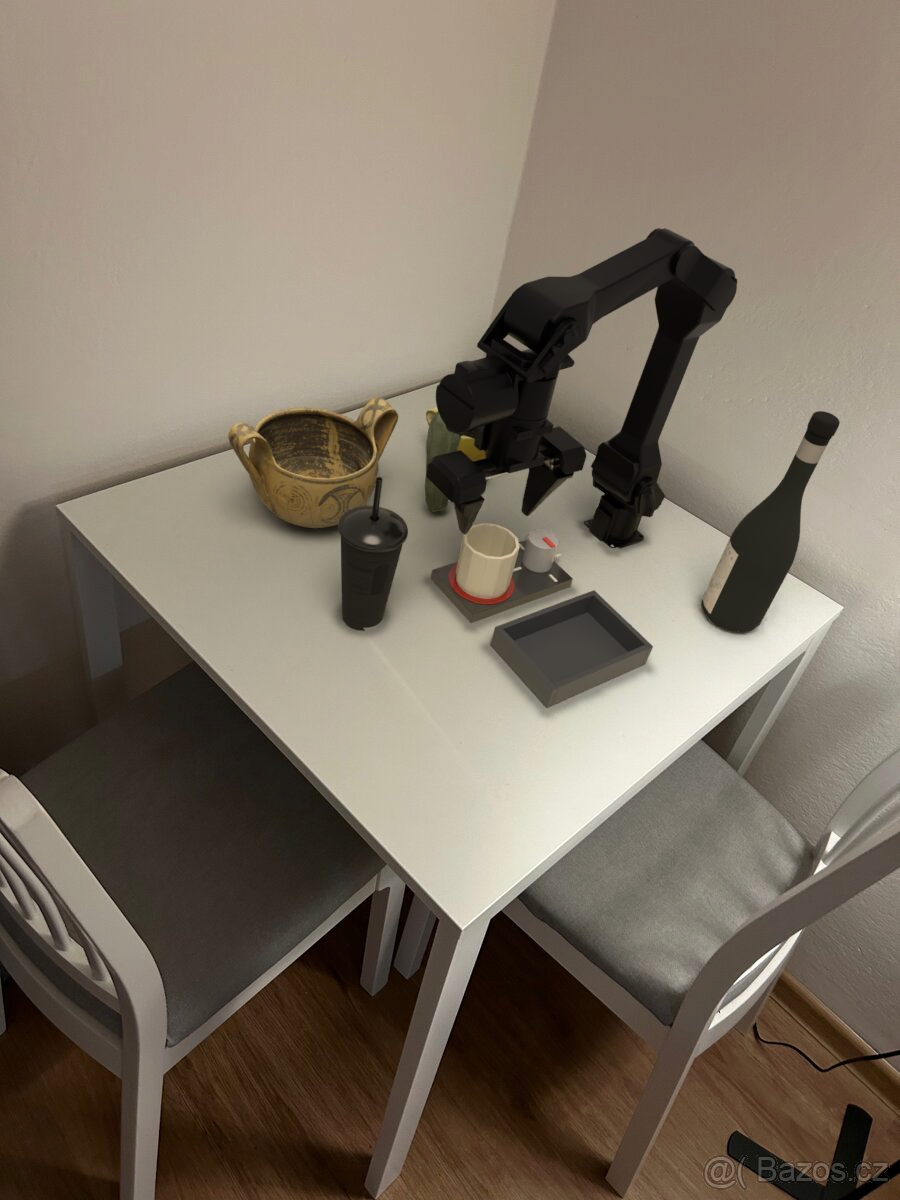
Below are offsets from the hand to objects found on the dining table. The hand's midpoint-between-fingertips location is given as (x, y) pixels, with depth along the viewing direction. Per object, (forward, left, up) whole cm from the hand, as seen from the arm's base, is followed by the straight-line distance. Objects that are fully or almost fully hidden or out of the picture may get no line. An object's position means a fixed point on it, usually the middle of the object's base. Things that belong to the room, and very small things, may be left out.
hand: (494, 522), depth 106 cm
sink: (-3, +14, -11) cm, 18 cm away
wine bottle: (-29, +17, -12) cm, 36 cm away
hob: (-4, 0, -11) cm, 12 cm away
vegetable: (-4, -17, -12) cm, 20 cm away
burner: (0, 0, -9) cm, 9 cm away
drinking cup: (+15, -3, -12) cm, 19 cm away
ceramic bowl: (+11, -24, -12) cm, 29 cm away
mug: (-14, -26, -12) cm, 31 cm away
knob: (-9, 0, -9) cm, 13 cm away
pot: (0, 0, -9) cm, 9 cm away
